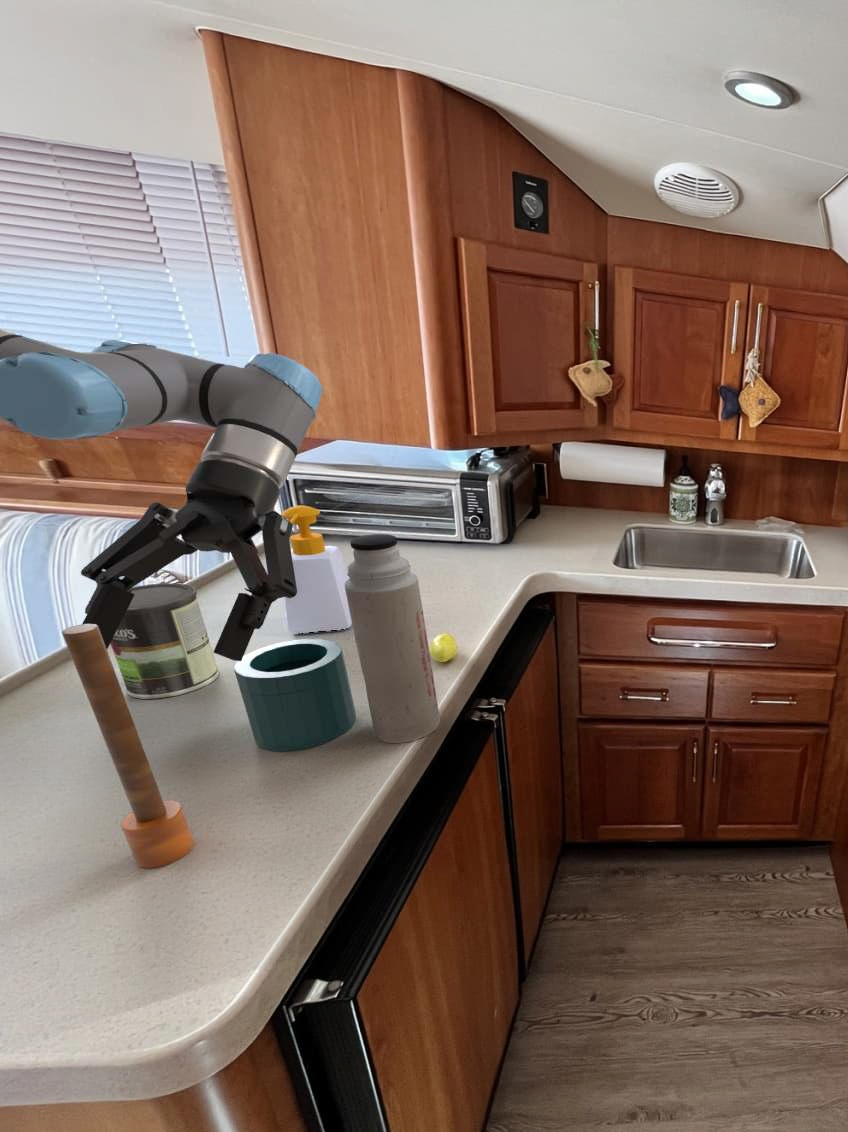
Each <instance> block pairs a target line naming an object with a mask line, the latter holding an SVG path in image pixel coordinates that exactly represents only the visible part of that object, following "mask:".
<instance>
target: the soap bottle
mask: <svg viewBox="0 0 848 1132" xmlns="http://www.w3.org/2000/svg"><path fill="white" fill-rule="evenodd" d="M280 515H282V516H283V517H284V518H286V519H287V520H288V521H290V522H291V523H292V524H293V526H297V529H298V532H299V533H296V534H292V535H290V538H289V542H290V546H291V547H290V548H291V554H292V561H293V567H294V574H295V580H296V586H297V594H296V596H295V597H293V598H287V597H283V598H282V599H283V605H284V606H283V607H284V612H285V614H284V615H285V621H286V622H285V623H286V629H287V631H289V633H290V634H295V635H301V633H303V634H310V633H309V632H314V633H319V632H318V631H326V632H332V631H331V630H337V631H342V630H341V629H344V630H347V629H346V628H348V629H350V628H351V626H352V621H351V616H350V611H349V606H348V601H347V596H346V591H345V582H346V581H347V580H348V579H350V578H349V576H348V574H347V573H348V570H347V568H346V564H345V561H344V557H343V555H342V552H341V550H340V549H339V547H337V546H335V545H325V542H324V538H323V534H322V533H320V532H312V531H311V525H312V524H315V523H316V522H317V517H316V516H318V515H321V511H320V509H317V508H315V507H312V506H307V505H294V506H292V507H288V508H287V509H285V510H284V511H282V512H281V514H280ZM349 627H350V628H349ZM298 633H300V634H298Z"/></svg>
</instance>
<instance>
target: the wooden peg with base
mask: <svg viewBox="0 0 848 1132" xmlns="http://www.w3.org/2000/svg"><path fill="white" fill-rule="evenodd" d="M61 634H62V637H63V639H64V641H65V644H66V647H67V649H68V652H69V654H70V656H71V659H72V661H73V665H74V667H75V669H76V672H77V674H78V677H79V679H80V682H81V684H82V687H83V689H84V692H85V695H86V697H87V700H88V702H89V704H90V707H91V710H92V712H93V714H94V717H95V720H96V722H97V725H98V727H99V729H100V732H101V735H102V738H103V740H104V743H105V745H106V747H107V749H108V753H109V755H110V757H111V760H112V763H113V765H114V768H115V770H116V773H117V775H118V777H119V780H120V783H121V785H122V787H123V790H124V793H125V795H126V798H127V801H128V803H129V805H130V808H131V812H130V813H129V814H127V815H126V816H125V817H124V818H123V819H122V821H121V823H120V827H121V829H122V832H123V835H124V837H125V839H126V842H127V845H128V846H129V847H128V848H129V849H130V852H131V854H132V857H133V859H134V861H135V864H136V866H137V867H139V868H140V869H141V868H142V869H157V868H160V867H164V866H167V865H169V864H172V863H175V862H177V861H178V860H180V859H182V858H183V857H185V856H187V854H188V853H190V852H191V851H192V849H193V848H194V846H195V841H194V838H193V835H192V832H191V830H190V826H189V823H188V821H187V818H186V816H185V813H184V810H183V807H182V805H181V803H180V802H178V801H177V800H176V801H175V800H164V799H163V797H162V794H161V792H160V789H159V786H158V783H157V781H156V778H155V776H154V773H153V770H152V768H151V765H150V762H149V760H148V757H147V754H146V751H145V749H144V746H143V742H142V741H141V738H140V734H139V732H138V730H137V727H136V725H135V722H134V719H133V716H132V714H131V711H130V708H129V706H128V703H127V700H126V696H125V695H124V692H123V690H122V687H121V684H120V681H119V678H118V676H117V673H116V670H115V668H114V666H113V665H114V664H113V663H112V659H111V657H110V655H109V652H108V649H106V646H105V643H104V641H103V638H102V635H101V633H100V630H99V627H98V625H96V624H82V623H81V624H78V625H73V626H69V627H66V628H64V629H63V630H62V631H61Z"/></svg>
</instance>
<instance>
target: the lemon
mask: <svg viewBox="0 0 848 1132" xmlns="http://www.w3.org/2000/svg"><path fill="white" fill-rule="evenodd" d="M458 648H459V647H458V645H457V641H456V638H455V637H454V636H453V635H452V634H450V633H441V634H439V635H436V637H434V638H433V640H432V641H431V642H430V645H429V653H430V657H432V658H433V659H434V660H435V661H436V662H439V663H446V662H447V661H450V660H453V659H455V658H456V656H457V652H458Z"/></svg>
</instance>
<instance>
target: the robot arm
mask: <svg viewBox="0 0 848 1132" xmlns="http://www.w3.org/2000/svg"><path fill="white" fill-rule="evenodd" d="M243 366H244V367H240V366H236V365H232V364H225V363H220V362H216V361H212V360H208V359H204V358H199V357H197V356H192V355H188V354H184V353H181V352H176V351H173V350H168V349H165V348H161V347H158V346H156V345H154V344H150V343H145V342H144V343H137V342H133V341H128V340H123V339H107V340H105V341H102V342H101V344H100V345H99V346H96V347H94V348H93V349H92V350H91V351H85V352H82V351H75V350H71V349H67V348H64V347H61V346H57V345H54V344H52V343H48V342H44V341H41V340H38V339H34V338H31V337H27V336H24V335H22V334H19V333H16V332H13V331H9V330H6V329H4V328H0V418H1V419H2V420H4V421H5V422H8V423H9V424H11V425H12V426H13V427H15V428H16V429H17V430H19V431H20V432H22V433H24V434H27V435H30V436H33V437H36V438H41V439H46V440H70V439H77V440H81V439H82V440H83V439H93V438H97V437H100V436H104V435H107V434H110V433H115V432H119V431H125V430H129V429H134V428H138V427H139V428H141V427H146V426H151V425H156V424H162V423H167V422H173V421H181V422H186V423H192V424H197V425H202V426H207V427H211V428H215V429H214V430H213V432H212V434H211V436H210V438H209V440H208V441H207V443H206V445H205V447H204V449H203V450H202V453H201V455H200V460H201V461H199V462H198V463H197V464H196V465H195V467H194V469H193V471H192V474H191V475H190V477H189V478H188V481H187V483H186V485H185V493H186V502H185V503H184V505H182V507H180V508H179V509H175V508H170V507H167V506H166V505H164V504H162V503H161V502H157V501H156V502H153V503H151V504H150V505H149V506H148V507H147V509H146V511H145V512H144V514H143V516H142V517H141V518H140V519H139V520H138V521H137V522H136V523H134V524H133V525H132V526H131V527H129V529H128V530H127V531H125V532H124V533H122V535H120V536H119V537H118V538H117V539H115V540H114V542H112V543H111V544H110V545H109V546H107V547H106V548H105V549H104V550H103V551H101V552H100V554H98V555H97V556H95V557H94V558H93V559H92V560H91V561H90V562H89V563H88V564H86V565H85V566H83V568H82V569H81V570H80V575H81V576H82V577H85V578H87V579H89V580H91V581H93V582H95V583H96V588H95V589H94V591H93V593H92V595H91V597H90V600H89V601H88V603H87V605H86V606H85V609H84V614H85V615H86V616H85V617H84V619H83V621H82V623H81V625H82V624H96V625H98V627H99V630H100V633H101V635H102V638H103V641H104V643H105V646H106V649H107V650H108V648H109V647H110V646H111V644H110V643H111V641H112V639H113V637H114V635H115V633H116V631H117V629H118V627H119V625H120V623H121V621H122V619H123V617H124V615H125V613H126V611H127V609H128V607H129V605H130V603H131V601H132V599H133V597H134V595H135V594H133V593H131V590H130V588H132V587H136V586H137V585H138V584H140V583H142V582H143V581H145V580H146V579H148V578H150V577H151V576H152V575H154V574H156V573H157V572H159V571H161V570H162V569H163V568H165V567H166V566H168V565H170V564H172V563H173V562H174V561H176V560H178V559H179V558H180V557H181V558H182V556H184V555H185V556H188V555H192V554H194V553H196V552H198V551H200V552H215V551H216V552H220V553H221V554H222V553H223V554H231V557H232V558H233V560H234V562H235V564H236V567H237V569H238V571H239V573H240V575H241V577H242V579H243V581H244V583H245V586H246V587H244V590H245V591H246V592H248V593H246V592H239V593H238V595H237V596H236V598H235V602H234V603H233V606H232V608H231V611H230V613H229V615H228V617H227V619H226V622H225V623H224V626H223V629H222V631H221V634H220V635H219V638H218V640H217V642H216V645H215V647H214V650H213V654H216V655H218V656H221V657H224V658H226V659H229V660H231V661H233V662H235V661H236V662H237V661H242V658H243V656H245V654H246V651H247V649H248V646H249V644H250V641H251V639H252V636H253V634H254V632H255V630H260V629H261V627H262V626H263V625H264V623H265V620H266V618H267V615H268V613H269V610H270V608H271V606H272V604H273V603H274V602H276V601H277V600H278V599H283V597H287V598H293V597H295V596H296V594H297V586H296V580H295V574H294V567H293V561H292V554H291V548H292V547H291V541H290V537H291V536H292V535H291V534H292V532H293V528H294V525H293V524H292V523H291V522H290V521H288V518H286V517H283V516H282V515H281V514H280V512H277V511H276V510H274V509H275V508H276V504H277V503H278V500H279V498H280V495H281V488H283V487H284V485H285V482H286V480H287V478H288V476H289V474H290V471H291V469H292V468H293V467H292V466H293V464H294V462H295V461H296V458H297V456H298V453H299V450H300V447H301V446H302V443H303V441H304V439H305V437H306V434H307V433H308V431H309V429H310V426H311V424H312V423H313V420H315V419H316V415H317V410H318V408H319V404H320V401H321V397H322V395H323V387H322V384H321V382H320V380H319V378H318V377H317V376H316V374H314V373H313V372H312V371H311V370H310V369H309V368H307V367H306V366H305V365H303V364H301V363H299V362H298V361H296V360H294V359H292V358H290V357H287V356H284V355H281V354H277V353H272V352H268V353H257V354H254V355H253V356H252V357H251V358H250V359H249V360H248V361H247V362H246V363H245V365H243ZM261 532H262V533H261ZM259 533H261V534H262V535H261V536H262V542H263V550H264V551H263V552H264V558H265V564H266V568H265V567H264V565H263V562H262V561H261V558H260V556H259V555H258V554H259V550H258V548H257V546H256V544H255V542H254V540H253V537H255V536H256V535H258V534H259ZM180 536H181V538H179V537H180ZM121 577H123V578H121ZM249 593H250V594H249Z"/></svg>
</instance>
